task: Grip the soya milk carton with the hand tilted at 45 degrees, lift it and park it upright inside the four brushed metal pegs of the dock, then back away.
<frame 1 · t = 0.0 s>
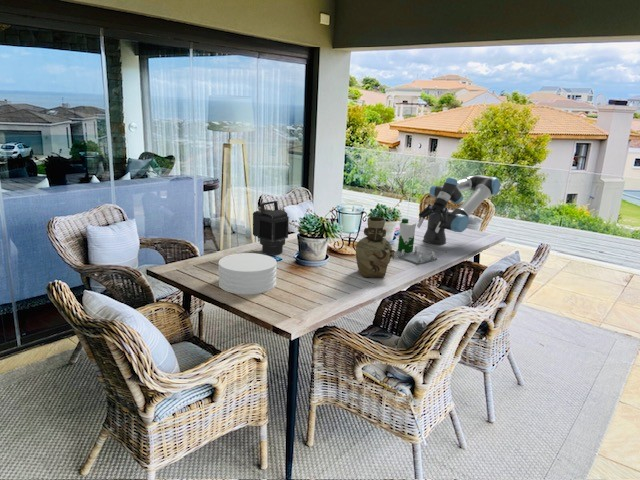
hand: (427, 229, 296), 15 cm above the table, tool tilted 35°, fingers open, 13 cm apart
soya milk: (405, 250, 304), on the table
peg dock: (417, 258, 289), on the table
ceramic vessel: (371, 273, 260), on the table
lantern: (270, 251, 289), on the table
plate stack: (247, 284, 237), on the table
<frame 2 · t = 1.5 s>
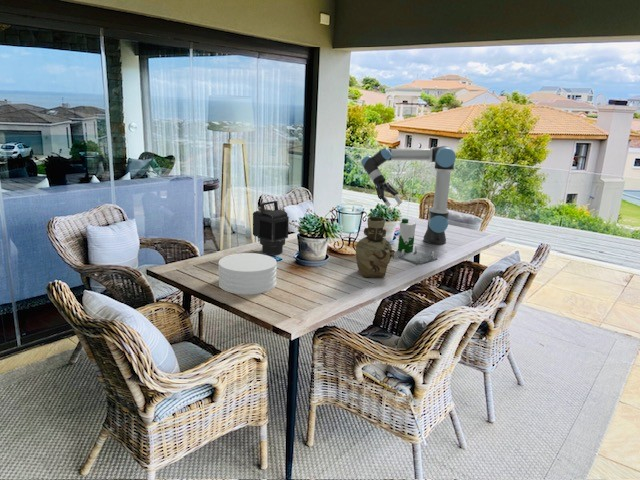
hand: (395, 205, 303), 28 cm above the table, tool tilted 45°, fingers open, 13 cm apart
nothing on the table moved.
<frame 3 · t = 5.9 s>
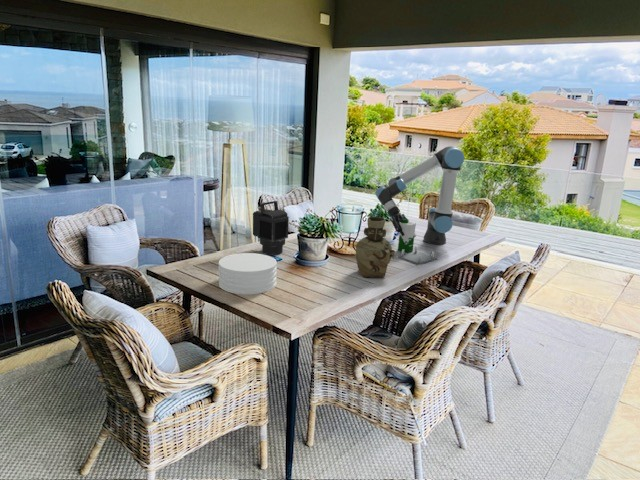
hand: (411, 238, 300), 9 cm above the table, tool tilted 45°, fingers closed on soya milk, 9 cm apart
soya milk: (405, 250, 304), on the table, touching gripper
everything else where it was.
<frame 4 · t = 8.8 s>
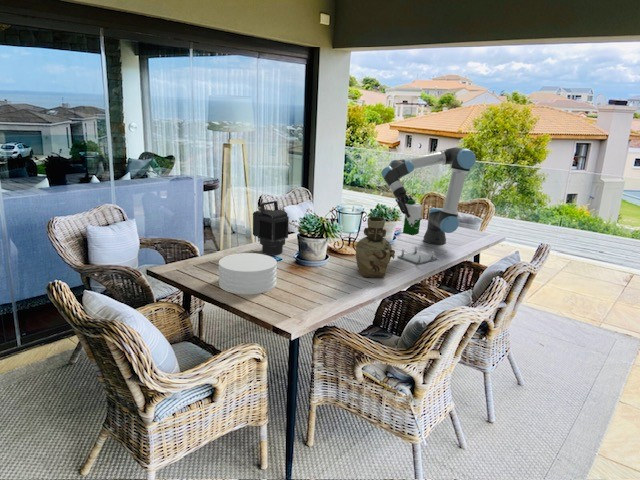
hand: (417, 220, 287), 22 cm above the table, tool tilted 45°, fingers closed on soya milk, 9 cm apart
soya milk: (410, 233, 291), point 14 cm above the table, touching gripper
everything else where it was.
when the fingers open (11 cm above the table, at t = 11.9 s): soya milk drops 1 cm, resting on peg dock.
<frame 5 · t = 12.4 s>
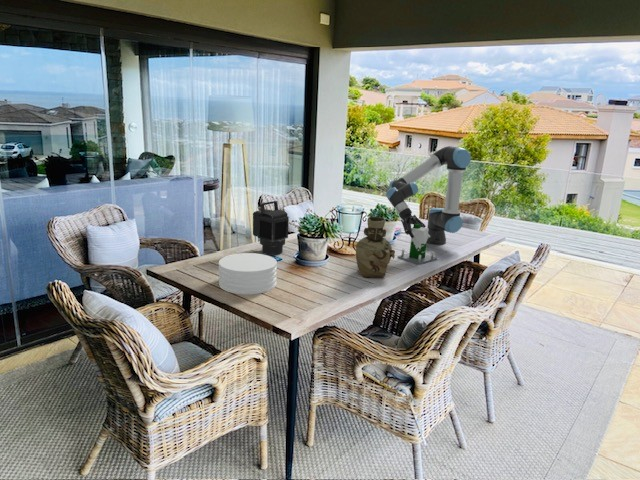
hand: (422, 240, 284), 12 cm above the table, tool tilted 45°, fingers open, 13 cm apart
soya milk: (417, 257, 288), point 1 cm above the table, touching peg dock
everything else where it was.
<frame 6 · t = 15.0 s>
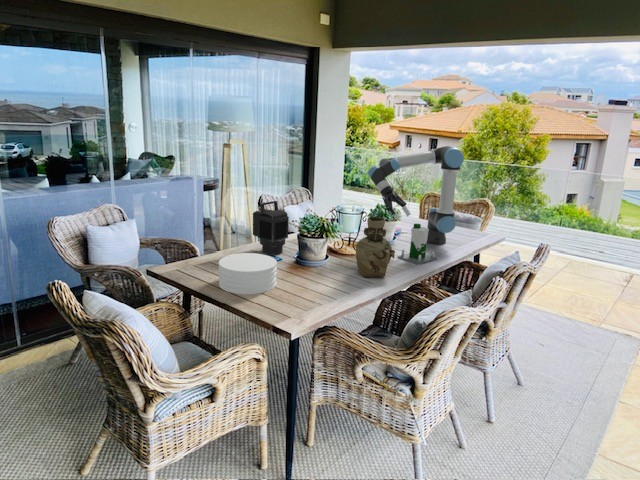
hand: (403, 216, 292), 23 cm above the table, tool tilted 45°, fingers open, 13 cm apart
nothing on the table moved.
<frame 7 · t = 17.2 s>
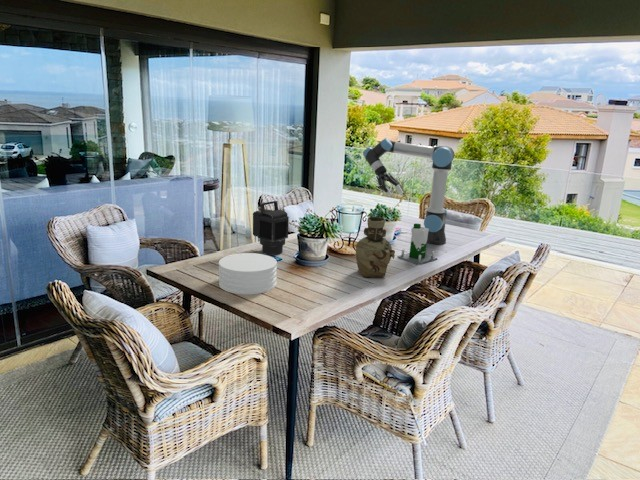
hand: (396, 194, 310), 33 cm above the table, tool tilted 45°, fingers open, 13 cm apart
nothing on the table moved.
at the end: soya milk 0.4 cm off-centre on the peg dock, point 0.8 cm above the peg dock's base; soya milk tilted 0°; the gripper is holding nothing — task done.
